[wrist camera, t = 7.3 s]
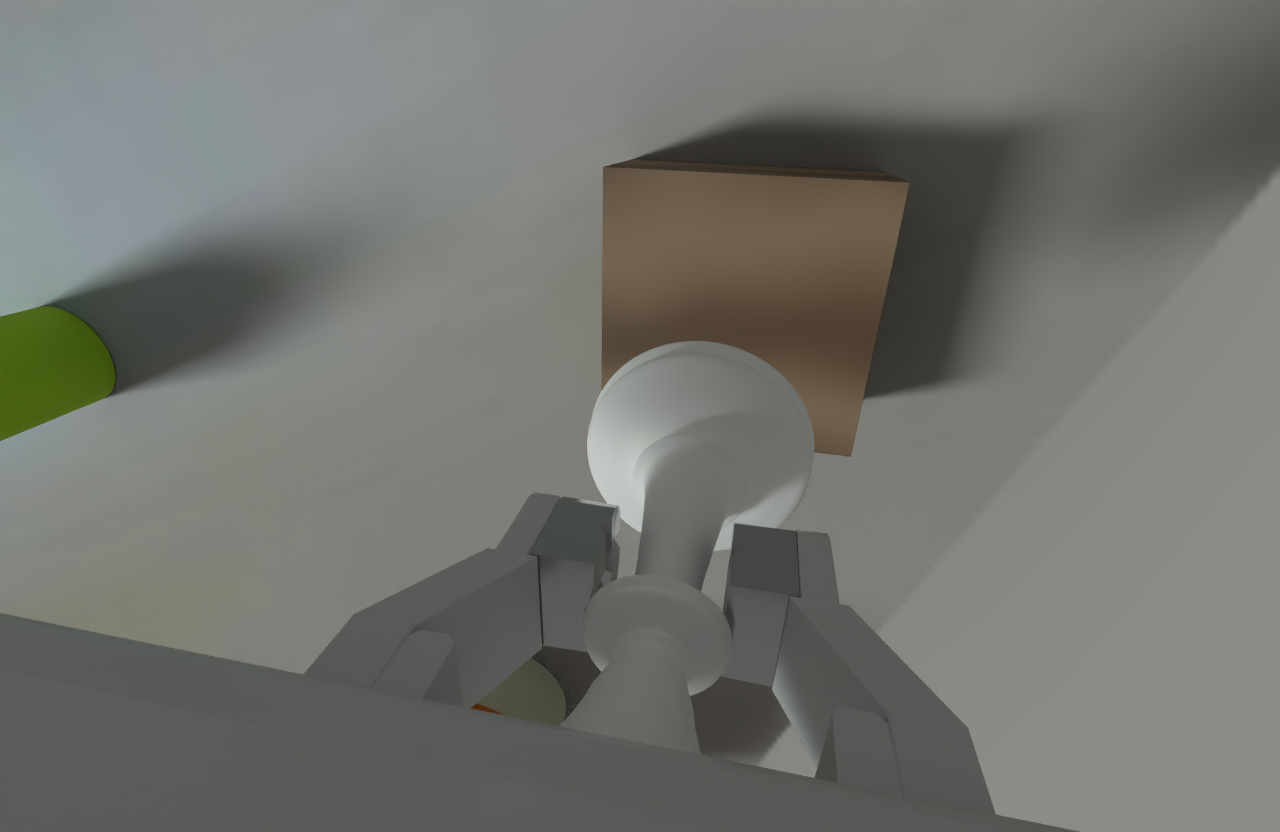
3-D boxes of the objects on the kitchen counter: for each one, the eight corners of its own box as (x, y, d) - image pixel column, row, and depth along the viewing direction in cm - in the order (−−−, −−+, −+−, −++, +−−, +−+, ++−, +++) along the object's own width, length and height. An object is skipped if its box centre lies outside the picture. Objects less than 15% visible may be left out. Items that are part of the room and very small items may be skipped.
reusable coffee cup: (627, 693, 39) (553, 985, 26) (540, 779, 45) (443, 1054, 32) (460, 590, 38) (294, 841, 25) (393, 692, 44) (228, 940, 31)
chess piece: (818, 337, 12) (945, 976, 3) (809, 541, 14) (867, 1260, 5) (578, 341, 13) (164, 827, 4) (604, 530, 15) (366, 1115, 6)
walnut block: (632, 159, 25) (603, 166, 21) (883, 171, 24) (909, 182, 19) (626, 381, 30) (601, 426, 25) (838, 404, 28) (850, 456, 24)
